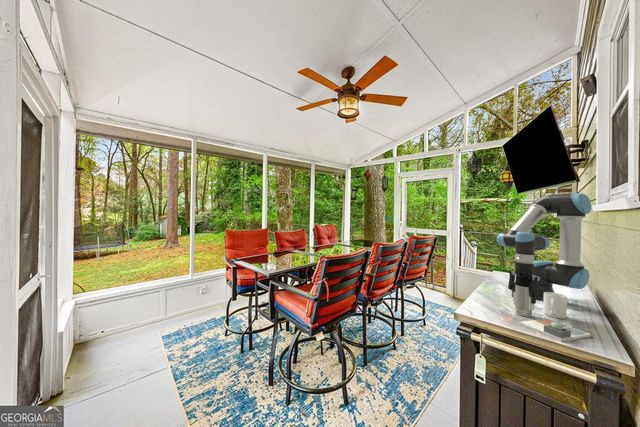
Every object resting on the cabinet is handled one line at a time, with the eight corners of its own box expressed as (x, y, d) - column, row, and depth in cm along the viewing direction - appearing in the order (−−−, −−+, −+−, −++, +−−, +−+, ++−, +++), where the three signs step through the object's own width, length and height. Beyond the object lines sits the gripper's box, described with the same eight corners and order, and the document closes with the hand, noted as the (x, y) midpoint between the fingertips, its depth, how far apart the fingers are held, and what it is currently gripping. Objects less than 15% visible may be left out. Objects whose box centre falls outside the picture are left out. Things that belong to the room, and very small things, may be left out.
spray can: (534, 318, 120) (535, 278, 120) (517, 315, 123) (518, 276, 123) (528, 313, 127) (529, 275, 127) (512, 311, 129) (513, 273, 129)
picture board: (546, 320, 118) (547, 313, 118) (591, 336, 103) (591, 328, 103) (519, 324, 113) (519, 316, 113) (561, 341, 98) (561, 332, 98)
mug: (540, 316, 123) (540, 295, 123) (545, 310, 131) (545, 290, 131) (564, 322, 117) (564, 300, 117) (567, 316, 124) (568, 295, 124)
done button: (554, 328, 104) (555, 321, 104) (565, 332, 101) (565, 325, 101) (549, 329, 103) (549, 322, 103) (559, 333, 100) (559, 325, 100)
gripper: (500, 258, 133) (499, 300, 133) (540, 266, 114) (539, 315, 114) (510, 258, 135) (509, 299, 135) (552, 265, 116) (551, 313, 116)
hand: (523, 306), depth 125 cm, fingers closed on spray can, 7 cm apart
